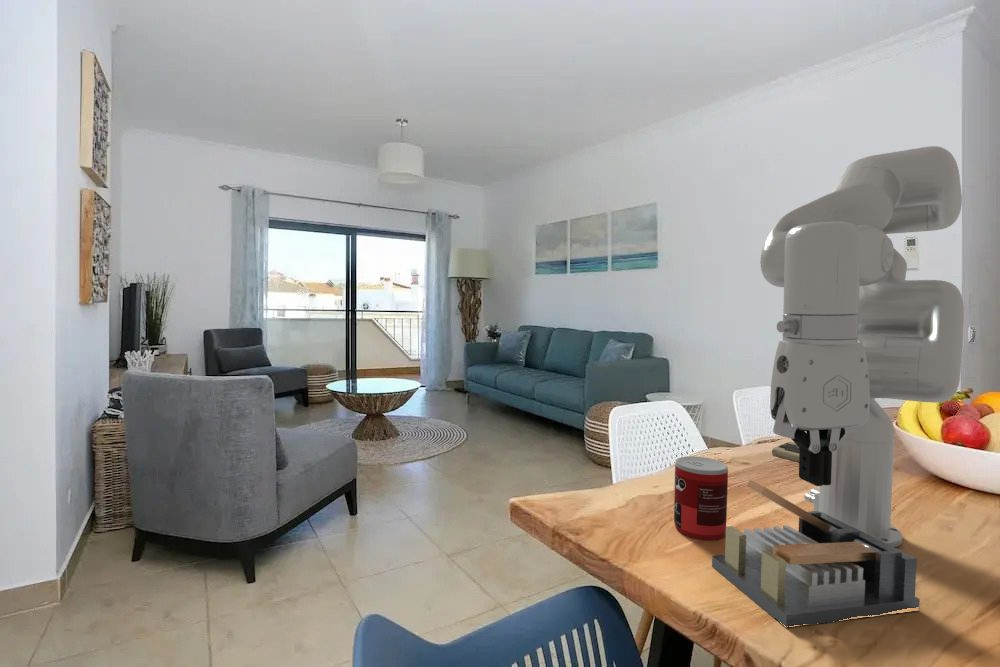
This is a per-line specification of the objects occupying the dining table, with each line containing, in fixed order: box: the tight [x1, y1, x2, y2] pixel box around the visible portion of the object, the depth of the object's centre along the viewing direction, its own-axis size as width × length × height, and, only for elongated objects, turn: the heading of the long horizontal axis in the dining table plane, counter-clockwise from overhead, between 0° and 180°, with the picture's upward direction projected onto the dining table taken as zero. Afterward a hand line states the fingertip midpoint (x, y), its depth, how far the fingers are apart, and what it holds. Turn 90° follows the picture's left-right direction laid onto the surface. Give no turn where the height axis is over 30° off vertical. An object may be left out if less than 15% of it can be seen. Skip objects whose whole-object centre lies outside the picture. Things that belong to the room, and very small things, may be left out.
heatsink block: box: [711, 510, 921, 627], centre depth 66 cm, size 14×18×7 cm
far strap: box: [746, 479, 837, 536], centre depth 69 cm, size 4×13×1 cm, turn 101°
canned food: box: [673, 455, 729, 541], centre depth 83 cm, size 8×8×11 cm
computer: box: [771, 441, 800, 463], centre depth 121 cm, size 16×8×3 cm, turn 29°
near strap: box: [773, 539, 882, 565], centre depth 62 cm, size 4×13×1 cm, turn 101°
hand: (814, 481), depth 62 cm, fingers closed
